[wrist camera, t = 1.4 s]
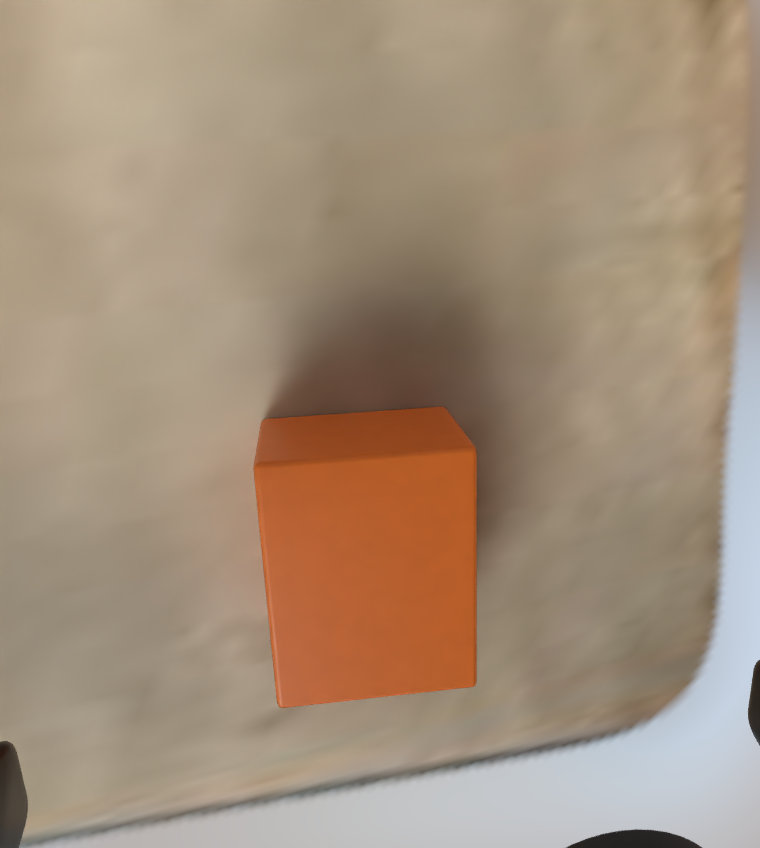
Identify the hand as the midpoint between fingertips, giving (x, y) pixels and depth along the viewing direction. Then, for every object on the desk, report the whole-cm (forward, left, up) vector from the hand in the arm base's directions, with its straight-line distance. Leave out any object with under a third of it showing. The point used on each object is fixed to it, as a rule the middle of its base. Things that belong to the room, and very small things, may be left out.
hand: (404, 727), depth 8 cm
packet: (0, 0, -6) cm, 6 cm away
